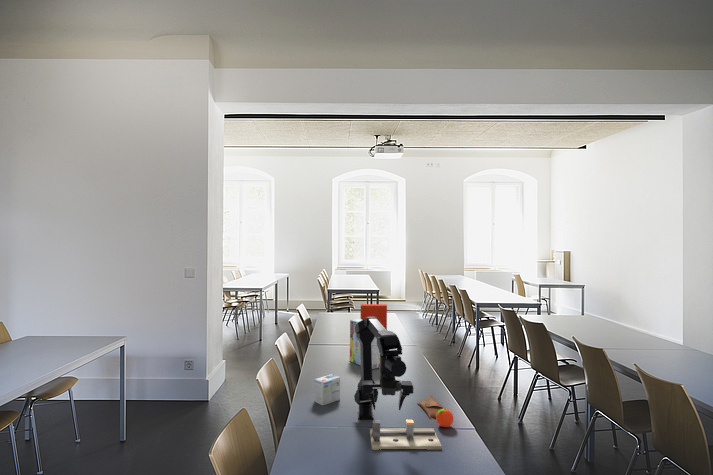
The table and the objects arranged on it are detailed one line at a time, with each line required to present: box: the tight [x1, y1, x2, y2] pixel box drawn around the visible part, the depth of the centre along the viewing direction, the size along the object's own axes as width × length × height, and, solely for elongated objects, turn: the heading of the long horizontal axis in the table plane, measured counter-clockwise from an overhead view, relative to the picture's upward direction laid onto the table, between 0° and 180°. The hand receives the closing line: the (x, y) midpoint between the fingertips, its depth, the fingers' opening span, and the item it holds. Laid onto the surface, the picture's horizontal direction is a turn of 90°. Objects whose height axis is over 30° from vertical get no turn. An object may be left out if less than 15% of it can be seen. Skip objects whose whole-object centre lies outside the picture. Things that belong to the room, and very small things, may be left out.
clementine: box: [435, 408, 454, 428], centre depth 165 cm, size 8×7×7 cm
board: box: [369, 419, 443, 451], centre depth 154 cm, size 14×25×7 cm, turn 92°
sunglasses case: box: [416, 395, 445, 420], centre depth 181 cm, size 18×7×7 cm
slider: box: [405, 419, 415, 440], centre depth 153 cm, size 4×3×6 cm, turn 1°
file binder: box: [360, 303, 388, 331], centre depth 273 cm, size 8×17×32 cm, turn 88°
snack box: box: [349, 318, 380, 370], centre depth 248 cm, size 22×9×26 cm, turn 34°
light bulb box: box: [314, 373, 341, 406], centre depth 191 cm, size 11×7×11 cm, turn 135°
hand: (387, 409), depth 152 cm, fingers open, 9 cm apart
